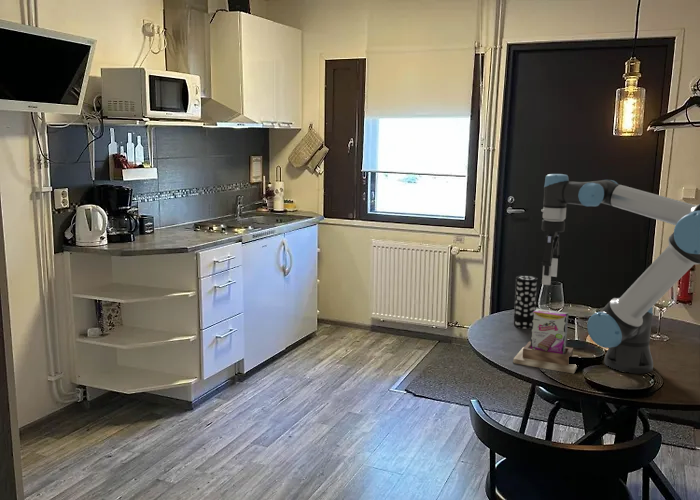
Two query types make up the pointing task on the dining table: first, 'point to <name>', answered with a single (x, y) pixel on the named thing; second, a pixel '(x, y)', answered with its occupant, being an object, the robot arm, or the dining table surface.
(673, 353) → the dining table surface
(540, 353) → the stand
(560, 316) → the candy bar box
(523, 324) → the white-spotted black cylinder
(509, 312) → the dining table surface
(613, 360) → the robot arm
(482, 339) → the dining table surface
